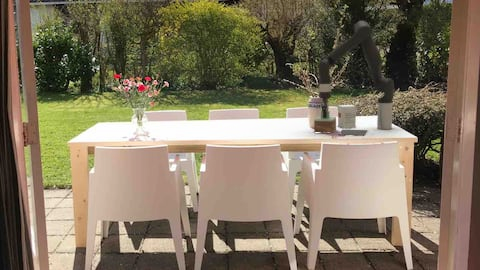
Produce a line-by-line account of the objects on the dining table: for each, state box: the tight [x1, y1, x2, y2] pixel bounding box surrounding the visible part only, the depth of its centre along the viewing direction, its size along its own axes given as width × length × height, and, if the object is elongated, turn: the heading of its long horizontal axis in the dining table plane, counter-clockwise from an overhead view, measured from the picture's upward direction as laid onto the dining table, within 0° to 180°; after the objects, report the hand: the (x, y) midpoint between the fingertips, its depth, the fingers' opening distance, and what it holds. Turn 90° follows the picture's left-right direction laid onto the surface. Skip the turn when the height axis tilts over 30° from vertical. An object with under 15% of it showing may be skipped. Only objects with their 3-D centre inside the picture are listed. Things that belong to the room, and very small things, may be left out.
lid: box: [314, 110, 337, 121], centre depth 329 cm, size 12×12×6 cm
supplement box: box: [337, 104, 357, 129], centre depth 345 cm, size 9×9×15 cm
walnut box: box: [313, 118, 337, 134], centre depth 330 cm, size 12×12×8 cm
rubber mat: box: [340, 128, 368, 137], centre depth 323 cm, size 18×16×1 cm
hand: (325, 117), depth 329 cm, fingers open, 3 cm apart
